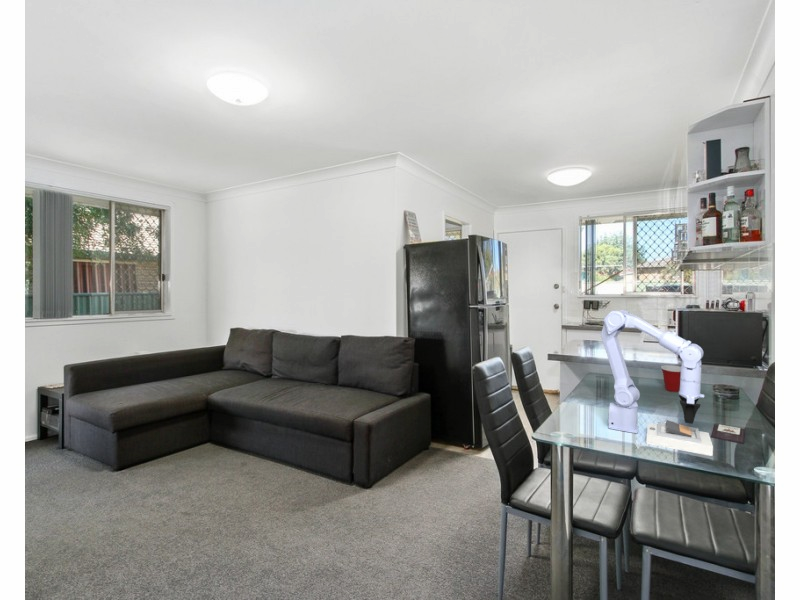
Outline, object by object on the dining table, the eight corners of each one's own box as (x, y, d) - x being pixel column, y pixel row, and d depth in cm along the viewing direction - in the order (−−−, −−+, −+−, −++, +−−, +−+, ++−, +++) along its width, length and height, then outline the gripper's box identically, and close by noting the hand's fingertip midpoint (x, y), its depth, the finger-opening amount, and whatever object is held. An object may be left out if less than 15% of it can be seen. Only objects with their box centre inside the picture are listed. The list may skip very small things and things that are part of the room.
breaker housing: (646, 443, 142) (646, 431, 141) (647, 430, 154) (648, 419, 154) (712, 456, 132) (713, 443, 132) (708, 441, 145) (708, 429, 145)
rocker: (665, 432, 141) (667, 426, 141) (665, 425, 149) (666, 419, 148) (689, 441, 138) (691, 435, 137) (688, 433, 145) (690, 427, 145)
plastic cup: (658, 390, 213) (659, 367, 212) (660, 386, 221) (661, 364, 221) (684, 394, 206) (685, 370, 206) (685, 390, 215) (686, 367, 214)
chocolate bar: (710, 436, 149) (714, 423, 162) (710, 438, 149) (714, 425, 162) (743, 442, 143) (744, 429, 156) (743, 445, 143) (744, 431, 156)
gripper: (706, 386, 133) (704, 428, 134) (703, 377, 146) (701, 416, 146) (680, 383, 137) (678, 423, 138) (679, 375, 149) (677, 412, 150)
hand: (688, 419), depth 142 cm, fingers open, 7 cm apart
